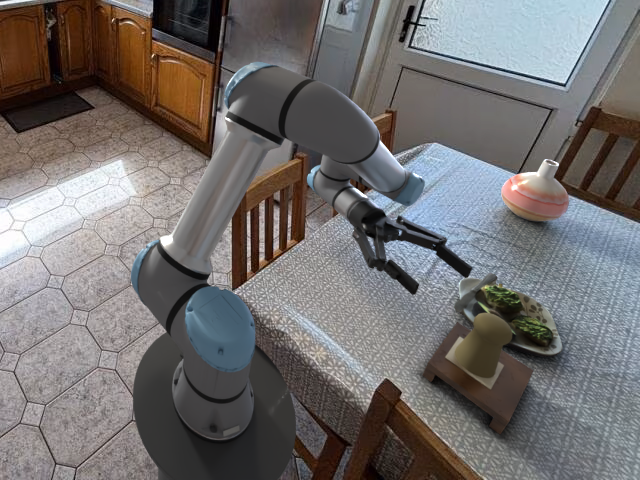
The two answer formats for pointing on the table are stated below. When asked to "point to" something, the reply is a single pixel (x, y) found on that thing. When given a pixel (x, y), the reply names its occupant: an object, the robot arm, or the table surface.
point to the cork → (484, 345)
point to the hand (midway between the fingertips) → (443, 281)
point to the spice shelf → (481, 379)
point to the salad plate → (511, 314)
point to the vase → (536, 194)
